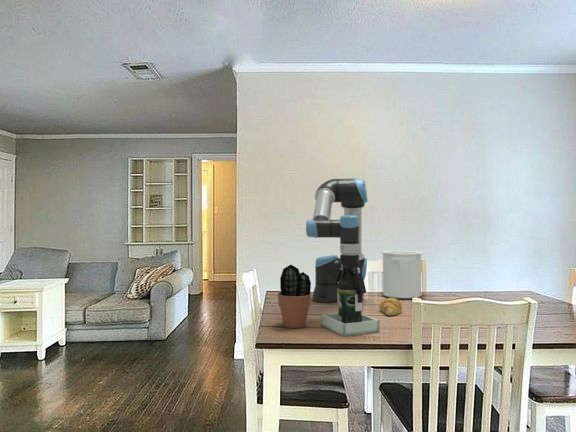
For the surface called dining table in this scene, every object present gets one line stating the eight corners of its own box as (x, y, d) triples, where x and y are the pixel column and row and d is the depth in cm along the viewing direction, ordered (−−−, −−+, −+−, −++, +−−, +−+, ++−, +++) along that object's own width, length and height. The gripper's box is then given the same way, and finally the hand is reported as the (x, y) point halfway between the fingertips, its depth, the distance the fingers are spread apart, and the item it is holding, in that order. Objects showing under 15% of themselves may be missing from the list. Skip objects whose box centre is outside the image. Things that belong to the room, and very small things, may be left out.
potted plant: (300, 331, 183) (300, 267, 183) (271, 326, 190) (271, 265, 190) (317, 324, 195) (317, 263, 194) (289, 320, 202) (289, 262, 202)
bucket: (380, 292, 272) (380, 249, 271) (418, 293, 269) (419, 250, 268) (383, 300, 246) (383, 253, 246) (425, 301, 243) (425, 254, 243)
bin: (321, 325, 192) (321, 314, 192) (354, 321, 199) (354, 311, 199) (343, 336, 176) (343, 324, 176) (379, 331, 182) (379, 320, 182)
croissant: (395, 325, 207) (404, 310, 206) (375, 313, 209) (384, 298, 208) (397, 314, 228) (405, 300, 227) (378, 303, 230) (386, 289, 229)
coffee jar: (358, 322, 192) (358, 277, 191) (364, 328, 184) (364, 281, 184) (335, 323, 191) (335, 278, 190) (340, 328, 183) (340, 281, 182)
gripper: (326, 251, 197) (326, 302, 197) (358, 257, 174) (358, 314, 174) (341, 251, 200) (341, 301, 200) (375, 256, 177) (375, 312, 177)
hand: (349, 307), depth 187 cm, fingers open, 13 cm apart
